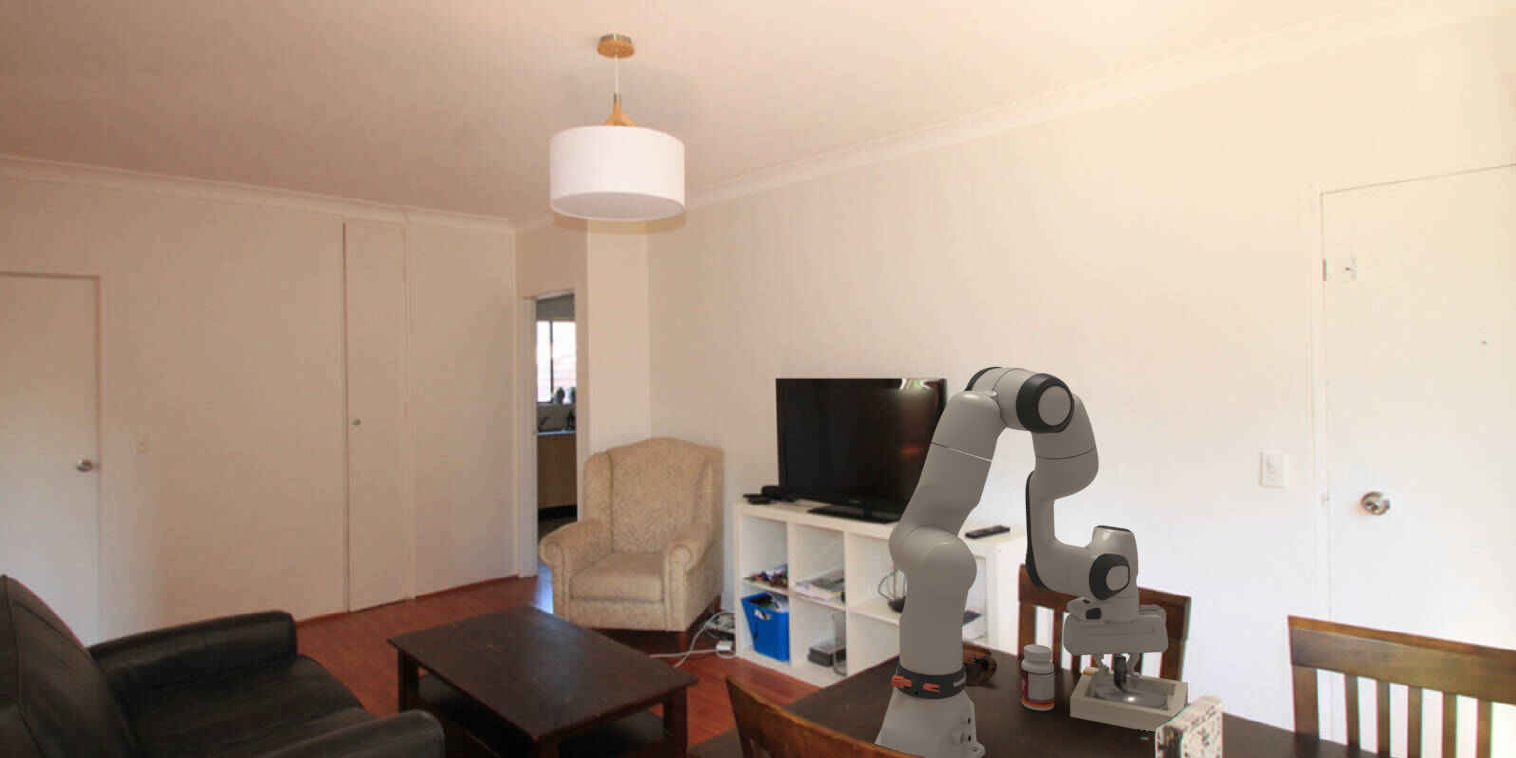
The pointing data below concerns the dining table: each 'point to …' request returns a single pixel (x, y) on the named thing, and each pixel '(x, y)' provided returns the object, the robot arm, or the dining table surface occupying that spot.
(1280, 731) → the dining table surface
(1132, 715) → the tray
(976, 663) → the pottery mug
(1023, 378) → the robot arm
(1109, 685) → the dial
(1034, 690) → the pill bottle
